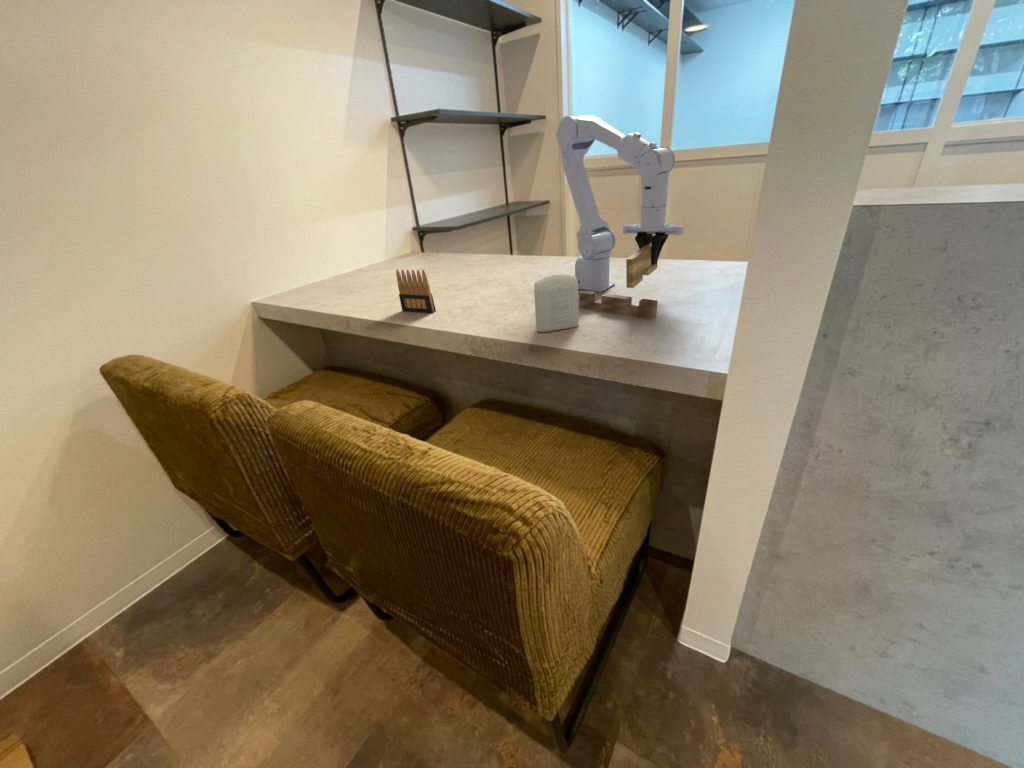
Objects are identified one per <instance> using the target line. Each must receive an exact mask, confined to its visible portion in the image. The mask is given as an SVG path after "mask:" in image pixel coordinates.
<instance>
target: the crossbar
mask: <svg viewBox="0 0 1024 768" xmlns="http://www.w3.org/2000/svg"><path fill="white" fill-rule="evenodd" d="M651 257H652V244H651V242H649V243H648V244H647V245H645V246H644V247H642V248H641V249H638V250H637V251H635V252H634V253H632V254H631V255H630V256H628V257H626V259H625V262H626V263H625V264H626V268H625V269H626V270H625V272H626V277H625V278H626V279H625V280H626V283H625V284H626V288H629V289H630V288H631V289H633V288H635V287H636V286H638V284H640V283H641V282H642V281H643V279H644V276H650V275H651V274H652V273H653V272H654V271H656V270H657V269H658V263H657V264H655V265H651Z"/></svg>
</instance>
